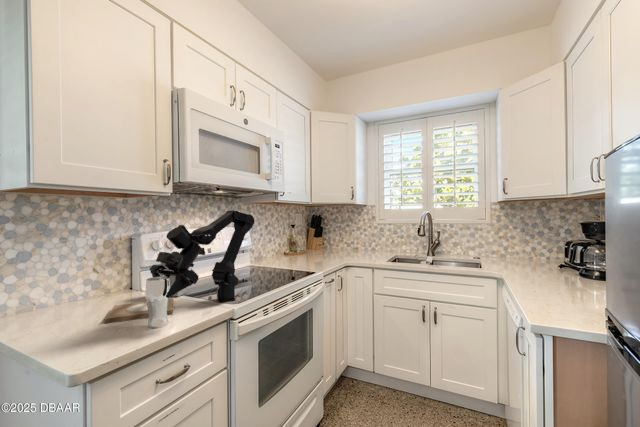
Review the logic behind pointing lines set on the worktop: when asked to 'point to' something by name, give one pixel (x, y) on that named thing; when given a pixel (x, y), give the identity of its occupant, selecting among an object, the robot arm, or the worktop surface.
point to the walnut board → (132, 311)
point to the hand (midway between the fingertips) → (157, 295)
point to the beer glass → (157, 301)
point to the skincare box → (172, 280)
